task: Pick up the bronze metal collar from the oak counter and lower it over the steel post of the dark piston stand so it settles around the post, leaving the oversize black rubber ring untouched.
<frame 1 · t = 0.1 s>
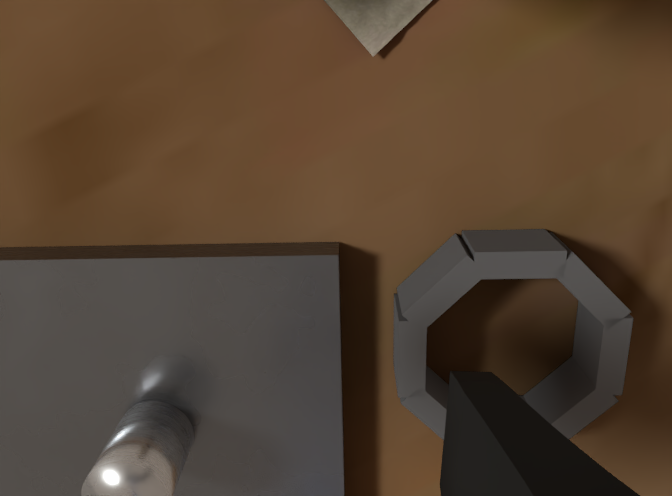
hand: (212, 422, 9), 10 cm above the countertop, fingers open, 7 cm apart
piston stand: (167, 411, 21), on the countertop
black ring: (496, 328, 20), on the countertop
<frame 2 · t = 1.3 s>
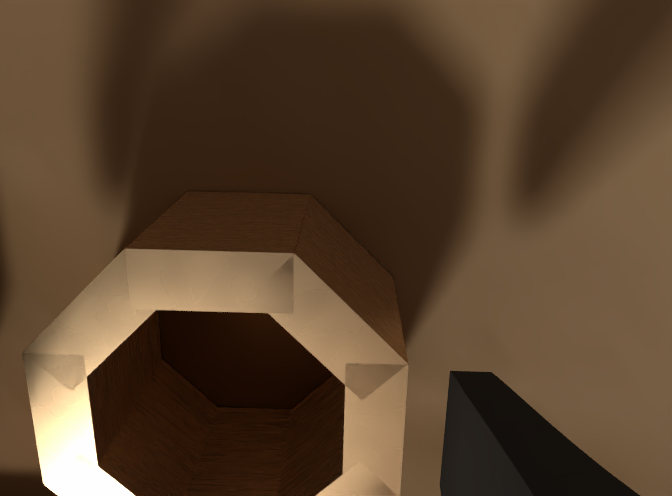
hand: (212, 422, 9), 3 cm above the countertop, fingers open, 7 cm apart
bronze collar: (252, 327, 12), on the countertop
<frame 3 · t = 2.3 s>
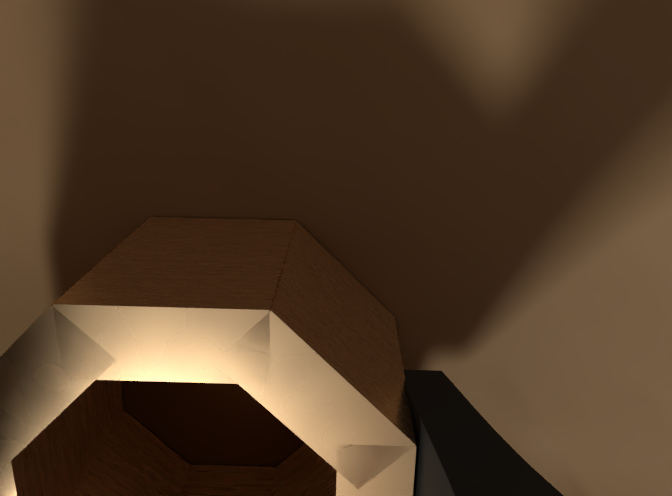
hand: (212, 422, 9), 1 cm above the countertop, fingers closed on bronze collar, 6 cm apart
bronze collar: (229, 374, 11), on the countertop, touching gripper
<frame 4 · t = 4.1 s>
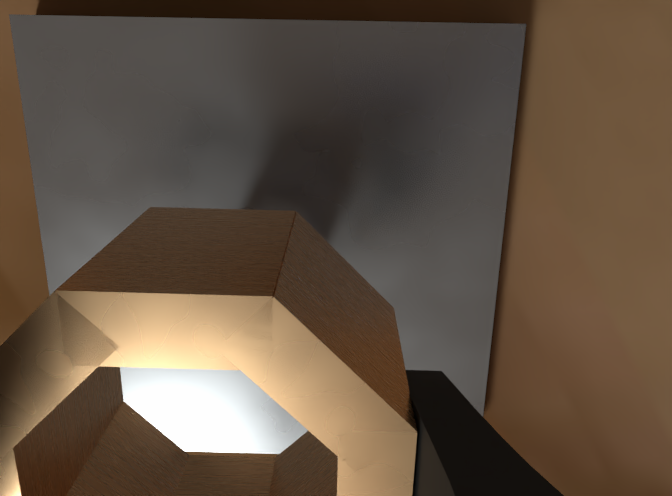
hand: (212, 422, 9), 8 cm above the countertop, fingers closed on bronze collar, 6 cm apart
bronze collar: (228, 364, 11), point 7 cm above the countertop, touching gripper
piston stand: (275, 247, 17), on the countertop
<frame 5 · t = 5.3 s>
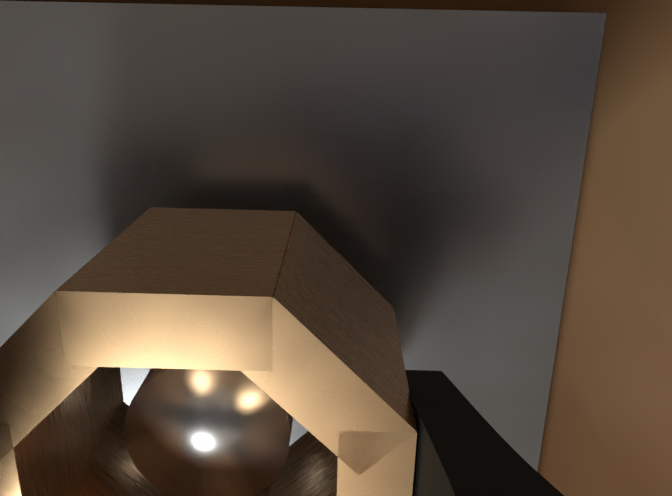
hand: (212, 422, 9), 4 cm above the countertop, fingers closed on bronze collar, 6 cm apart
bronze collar: (228, 365, 11), point 2 cm above the countertop, touching gripper
piston stand: (250, 315, 13), on the countertop
when the fingers open (4 cm above the countertop, at t = 5.9 s): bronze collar drops 1 cm, resting on piston stand.
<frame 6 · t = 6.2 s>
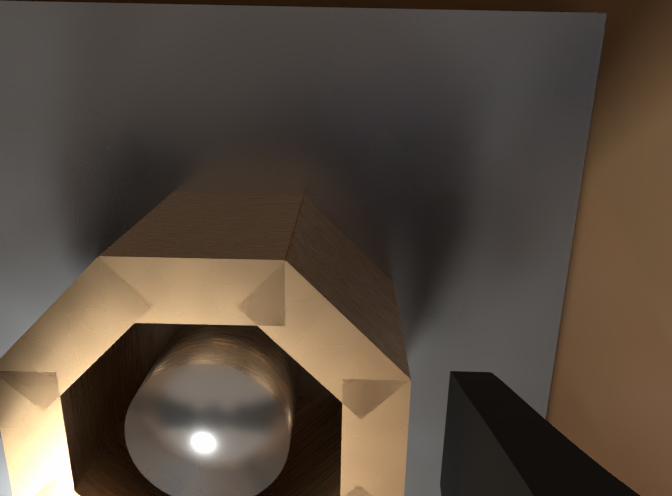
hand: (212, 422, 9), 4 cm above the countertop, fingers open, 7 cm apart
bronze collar: (243, 336, 12), point 1 cm above the countertop, touching piston stand
piston stand: (250, 315, 13), on the countertop
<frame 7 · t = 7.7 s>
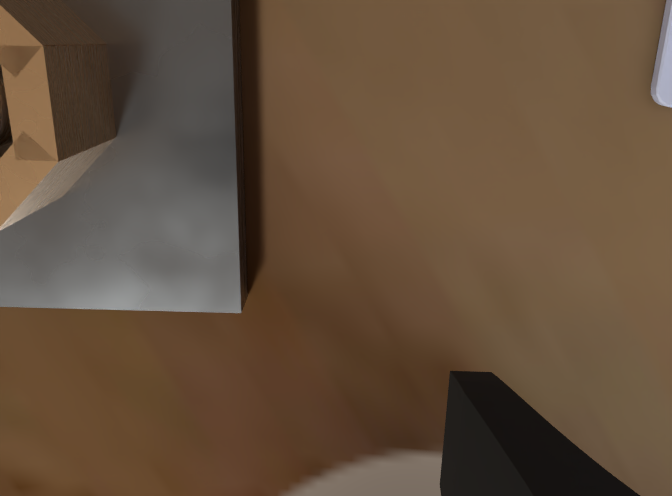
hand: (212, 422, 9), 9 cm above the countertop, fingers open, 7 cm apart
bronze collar: (3, 90, 16), point 1 cm above the countertop, touching piston stand
piston stand: (25, 91, 17), on the countertop
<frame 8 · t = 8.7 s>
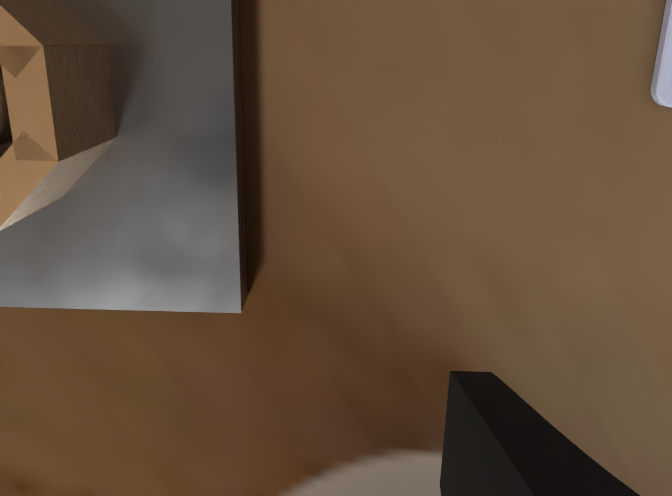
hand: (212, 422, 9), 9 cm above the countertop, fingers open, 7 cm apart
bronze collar: (3, 90, 16), point 1 cm above the countertop, touching piston stand
piston stand: (25, 91, 17), on the countertop
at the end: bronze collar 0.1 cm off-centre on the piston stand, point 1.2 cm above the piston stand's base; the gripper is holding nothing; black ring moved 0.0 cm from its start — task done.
